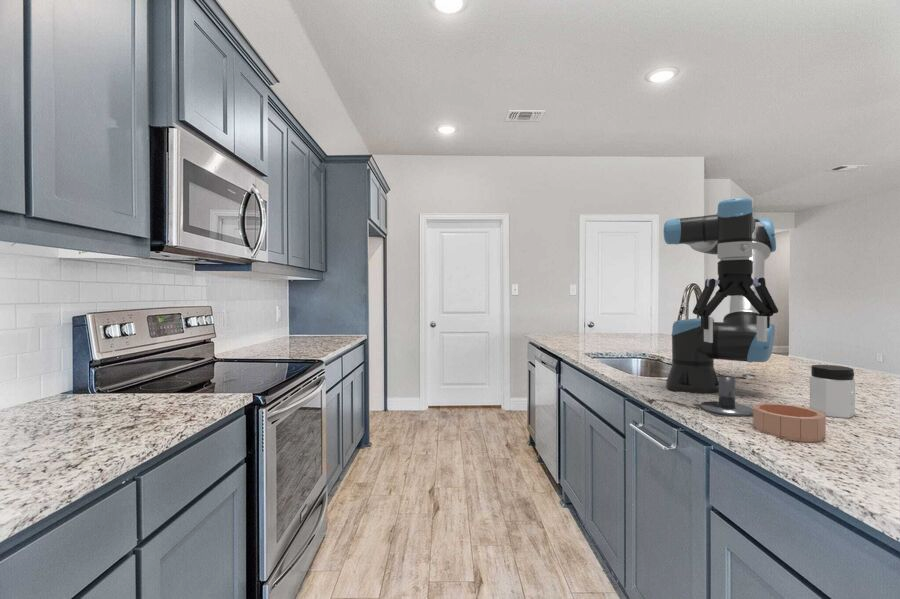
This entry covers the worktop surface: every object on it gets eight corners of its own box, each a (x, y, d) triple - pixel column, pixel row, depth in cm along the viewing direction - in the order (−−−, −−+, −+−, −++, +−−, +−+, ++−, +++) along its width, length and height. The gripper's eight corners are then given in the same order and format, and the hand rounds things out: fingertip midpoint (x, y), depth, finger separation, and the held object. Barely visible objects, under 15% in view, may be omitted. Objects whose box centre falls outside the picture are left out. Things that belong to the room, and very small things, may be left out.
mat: (691, 406, 117) (691, 403, 117) (736, 406, 116) (736, 404, 116) (715, 418, 105) (715, 416, 105) (766, 419, 104) (766, 417, 104)
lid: (692, 404, 116) (692, 372, 116) (736, 404, 116) (736, 372, 115) (716, 416, 105) (716, 381, 105) (764, 416, 104) (765, 381, 104)
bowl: (741, 423, 101) (741, 402, 100) (795, 424, 100) (795, 403, 100) (777, 441, 88) (777, 418, 88) (840, 442, 87) (840, 419, 87)
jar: (847, 420, 102) (848, 371, 102) (805, 412, 109) (805, 366, 109) (858, 414, 107) (858, 367, 107) (817, 407, 114) (817, 363, 114)
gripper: (693, 259, 105) (694, 344, 105) (795, 257, 104) (795, 342, 105) (678, 261, 112) (678, 340, 113) (773, 259, 112) (773, 338, 112)
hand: (734, 341), depth 109 cm, fingers open, 13 cm apart
